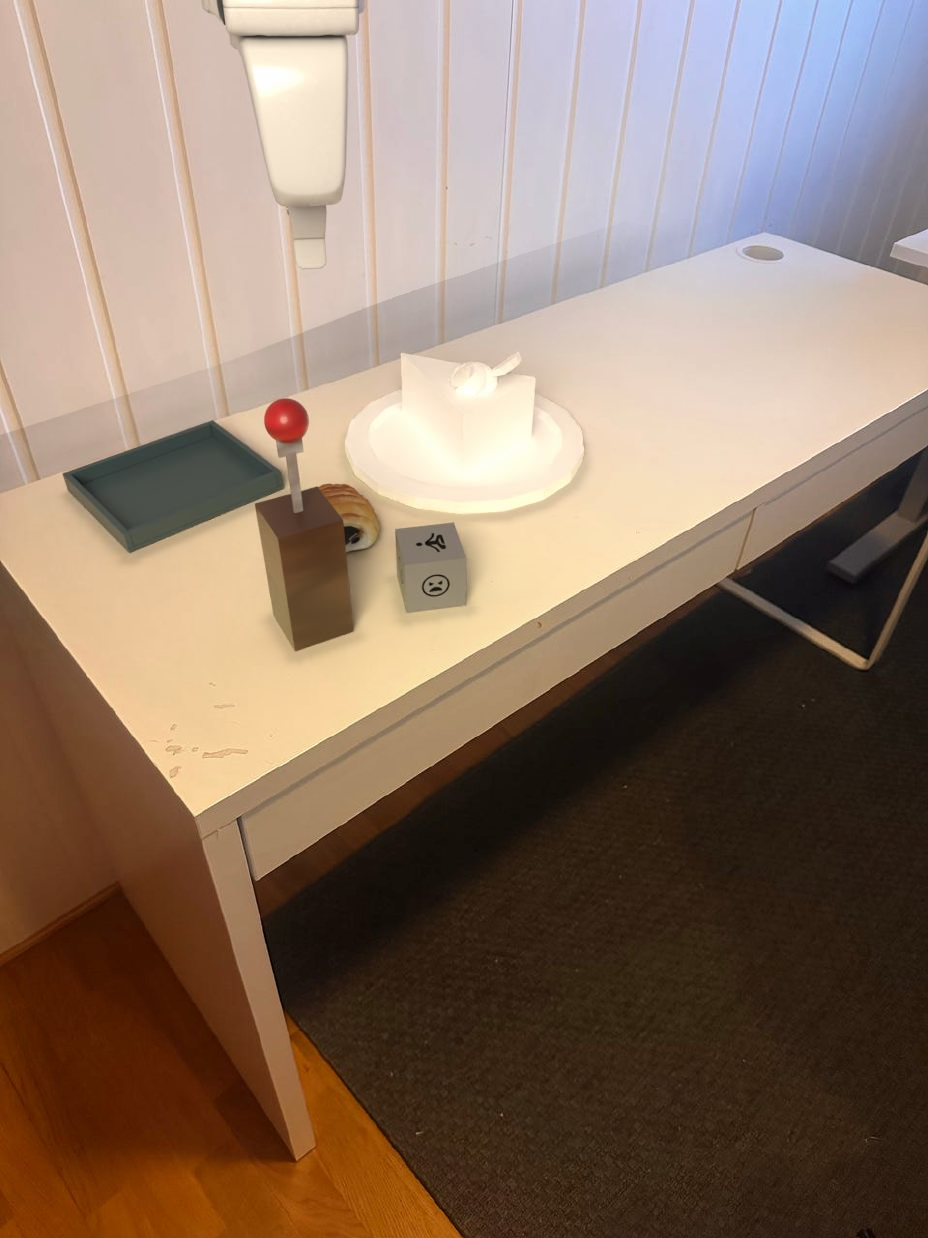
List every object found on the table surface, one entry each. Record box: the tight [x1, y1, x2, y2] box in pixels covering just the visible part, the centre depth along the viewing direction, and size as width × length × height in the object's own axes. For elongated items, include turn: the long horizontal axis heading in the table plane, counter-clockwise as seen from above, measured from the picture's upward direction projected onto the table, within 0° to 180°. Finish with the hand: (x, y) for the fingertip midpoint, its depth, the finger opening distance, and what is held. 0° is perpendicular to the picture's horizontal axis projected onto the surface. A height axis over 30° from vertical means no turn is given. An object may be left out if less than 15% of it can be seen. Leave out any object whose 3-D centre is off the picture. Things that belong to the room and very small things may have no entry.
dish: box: [344, 351, 585, 515], centre depth 90 cm, size 25×25×11 cm
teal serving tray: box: [62, 419, 285, 554], centre depth 87 cm, size 16×13×2 cm
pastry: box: [317, 483, 381, 553], centre depth 82 cm, size 9×7×4 cm
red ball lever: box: [254, 397, 354, 652], centre depth 66 cm, size 5×5×20 cm
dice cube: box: [394, 522, 467, 614], centre depth 75 cm, size 5×5×5 cm
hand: (305, 238), depth 57 cm, fingers open, 8 cm apart
